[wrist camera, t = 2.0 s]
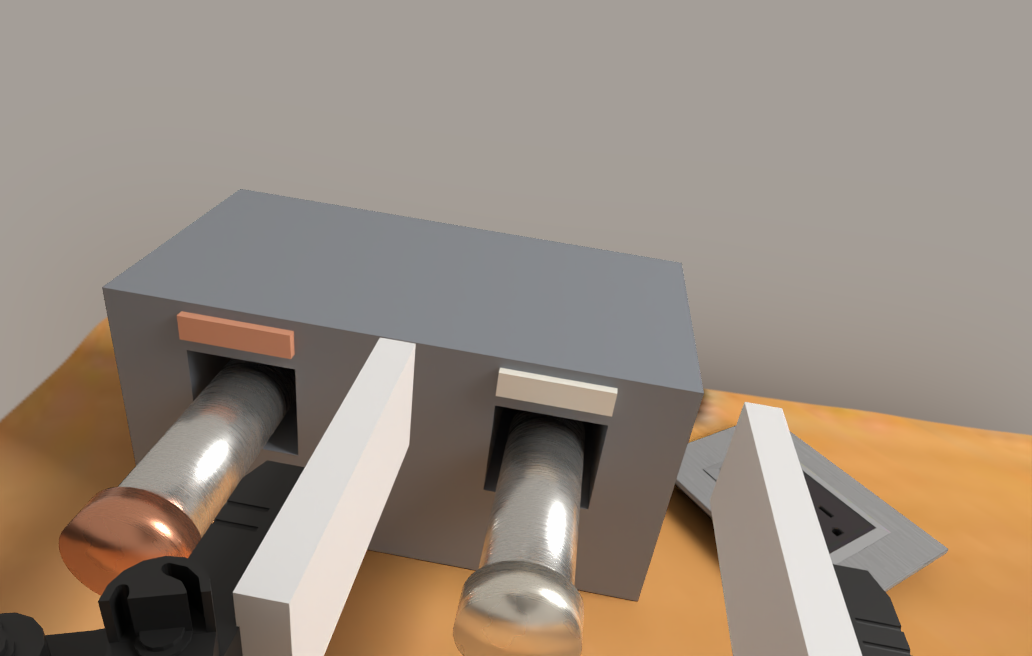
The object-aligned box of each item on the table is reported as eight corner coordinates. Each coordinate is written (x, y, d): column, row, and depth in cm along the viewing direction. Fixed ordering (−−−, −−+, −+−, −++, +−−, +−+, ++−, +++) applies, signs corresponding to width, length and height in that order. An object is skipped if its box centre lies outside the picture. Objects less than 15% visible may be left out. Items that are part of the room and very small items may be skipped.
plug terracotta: (187, 617, 26) (173, 531, 24) (71, 594, 26) (47, 506, 24) (307, 424, 36) (305, 350, 34) (222, 408, 36) (215, 334, 34)
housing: (637, 607, 36) (704, 398, 29) (139, 512, 37) (96, 291, 31) (634, 440, 47) (681, 262, 41) (253, 371, 49) (240, 189, 42)
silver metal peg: (570, 692, 25) (592, 611, 23) (448, 668, 26) (458, 585, 23) (585, 474, 35) (601, 402, 33) (496, 458, 35) (507, 386, 33)
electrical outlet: (933, 574, 41) (951, 545, 40) (817, 650, 36) (833, 619, 34) (757, 438, 50) (767, 410, 49) (644, 482, 45) (653, 452, 44)
